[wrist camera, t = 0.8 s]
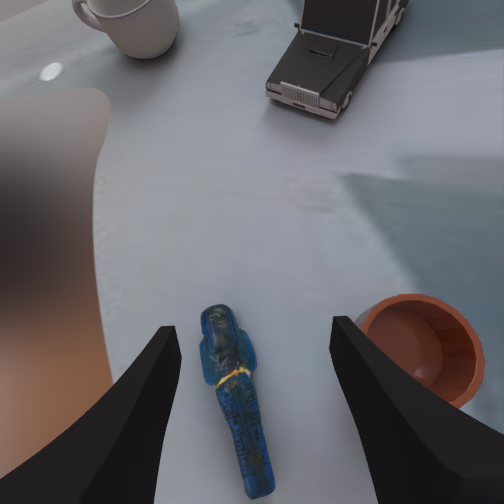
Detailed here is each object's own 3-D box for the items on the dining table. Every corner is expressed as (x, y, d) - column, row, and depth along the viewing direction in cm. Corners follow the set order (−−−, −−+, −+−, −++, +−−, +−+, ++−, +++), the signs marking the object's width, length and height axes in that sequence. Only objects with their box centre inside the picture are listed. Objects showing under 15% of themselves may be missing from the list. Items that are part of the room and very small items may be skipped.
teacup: (197, 18, 43) (173, -52, 35) (174, 73, 40) (143, 10, 33) (120, 19, 46) (84, -44, 39) (94, 70, 43) (50, 13, 36)
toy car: (263, 102, 36) (248, 15, 26) (340, -10, 39) (351, -122, 30) (337, 127, 32) (351, 39, 23) (413, 4, 36) (452, -116, 27)
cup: (454, 401, 23) (497, 418, 17) (352, 396, 24) (365, 410, 19) (436, 303, 25) (470, 292, 20) (344, 304, 26) (354, 294, 21)
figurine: (286, 475, 24) (237, 305, 29) (298, 489, 20) (239, 295, 26) (232, 498, 23) (191, 318, 28) (234, 518, 19) (188, 309, 25)
